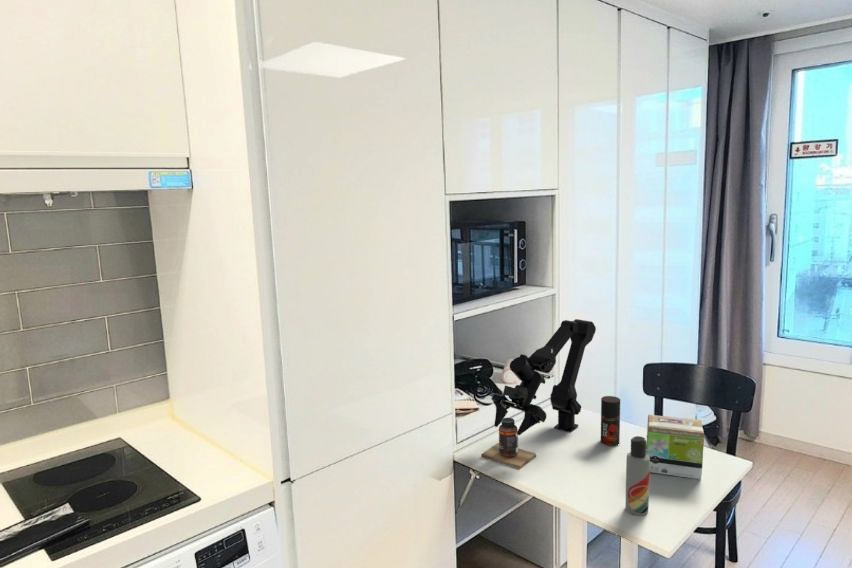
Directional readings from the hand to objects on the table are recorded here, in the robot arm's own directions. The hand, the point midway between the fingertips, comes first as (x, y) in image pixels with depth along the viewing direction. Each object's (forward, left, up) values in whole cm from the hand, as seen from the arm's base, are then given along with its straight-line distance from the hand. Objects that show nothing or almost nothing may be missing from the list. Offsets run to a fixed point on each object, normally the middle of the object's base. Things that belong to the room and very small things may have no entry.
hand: (506, 430), depth 182 cm
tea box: (-22, +44, -9) cm, 50 cm away
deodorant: (-29, +22, -9) cm, 38 cm away
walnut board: (-1, 0, -9) cm, 9 cm away
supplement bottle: (-1, 0, -8) cm, 8 cm away
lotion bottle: (+6, +43, -9) cm, 45 cm away
